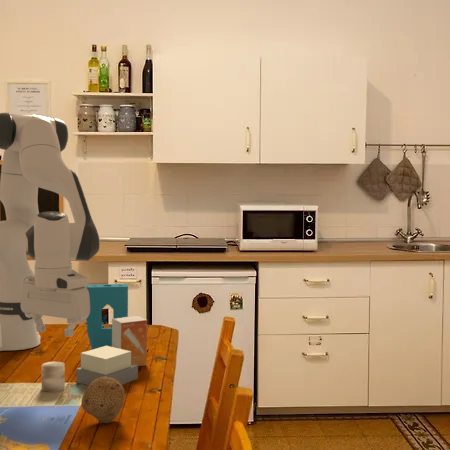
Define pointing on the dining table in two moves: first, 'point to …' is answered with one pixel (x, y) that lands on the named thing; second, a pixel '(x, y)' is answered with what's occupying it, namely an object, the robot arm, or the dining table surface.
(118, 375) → the tower base
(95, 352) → the tower top
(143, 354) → the small box
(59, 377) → the beige rounded cylinder
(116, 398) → the natural sponge
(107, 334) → the block
